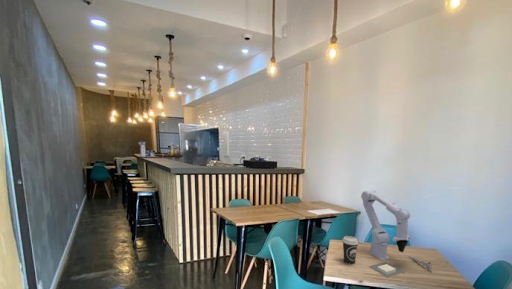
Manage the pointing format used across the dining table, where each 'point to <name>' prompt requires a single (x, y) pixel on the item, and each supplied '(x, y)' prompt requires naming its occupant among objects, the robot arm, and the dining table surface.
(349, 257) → the coffee cup
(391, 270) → the tile
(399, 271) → the mat
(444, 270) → the dining table surface
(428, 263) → the caliper
